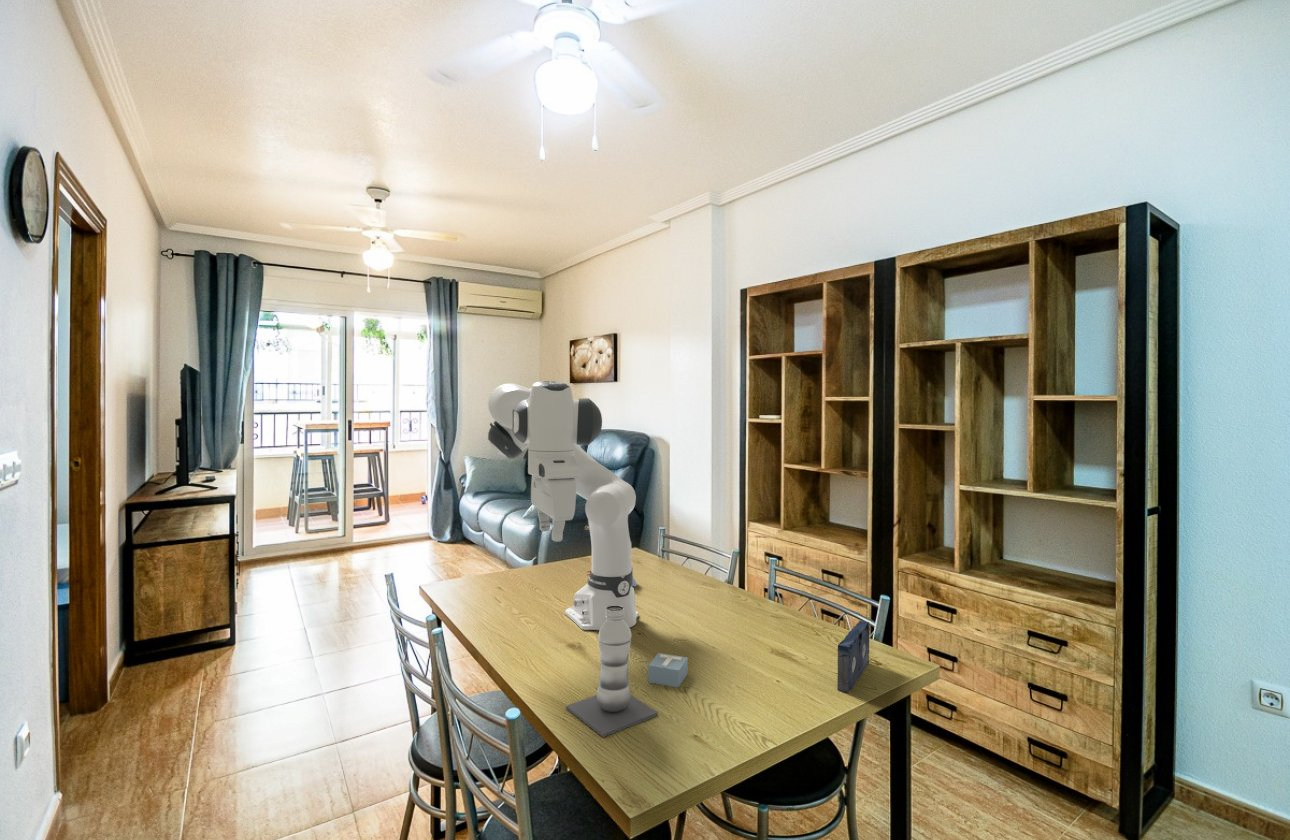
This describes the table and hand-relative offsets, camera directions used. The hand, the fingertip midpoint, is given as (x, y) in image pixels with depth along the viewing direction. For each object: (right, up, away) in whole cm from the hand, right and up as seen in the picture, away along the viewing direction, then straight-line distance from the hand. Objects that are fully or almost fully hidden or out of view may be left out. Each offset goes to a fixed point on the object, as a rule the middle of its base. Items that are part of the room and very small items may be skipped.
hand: (550, 535), depth 117 cm
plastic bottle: (+12, -35, +2) cm, 37 cm away
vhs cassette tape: (+66, -36, +19) cm, 77 cm away
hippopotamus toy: (+9, -33, +87) cm, 94 cm away
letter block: (+24, -35, +17) cm, 46 cm away
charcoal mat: (+12, -35, +2) cm, 37 cm away
